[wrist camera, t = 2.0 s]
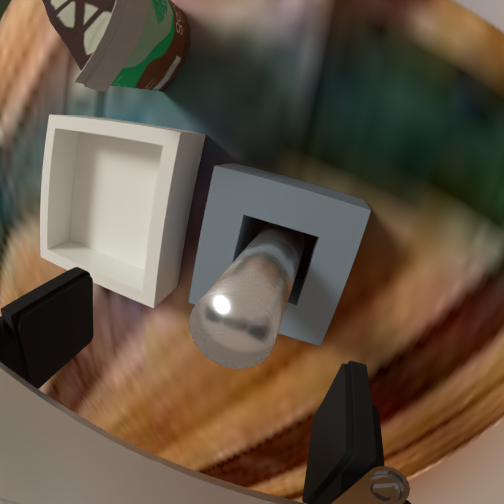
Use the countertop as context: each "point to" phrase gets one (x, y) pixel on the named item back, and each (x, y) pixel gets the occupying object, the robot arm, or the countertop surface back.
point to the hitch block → (291, 216)
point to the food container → (122, 41)
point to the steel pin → (249, 300)
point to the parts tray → (118, 201)
